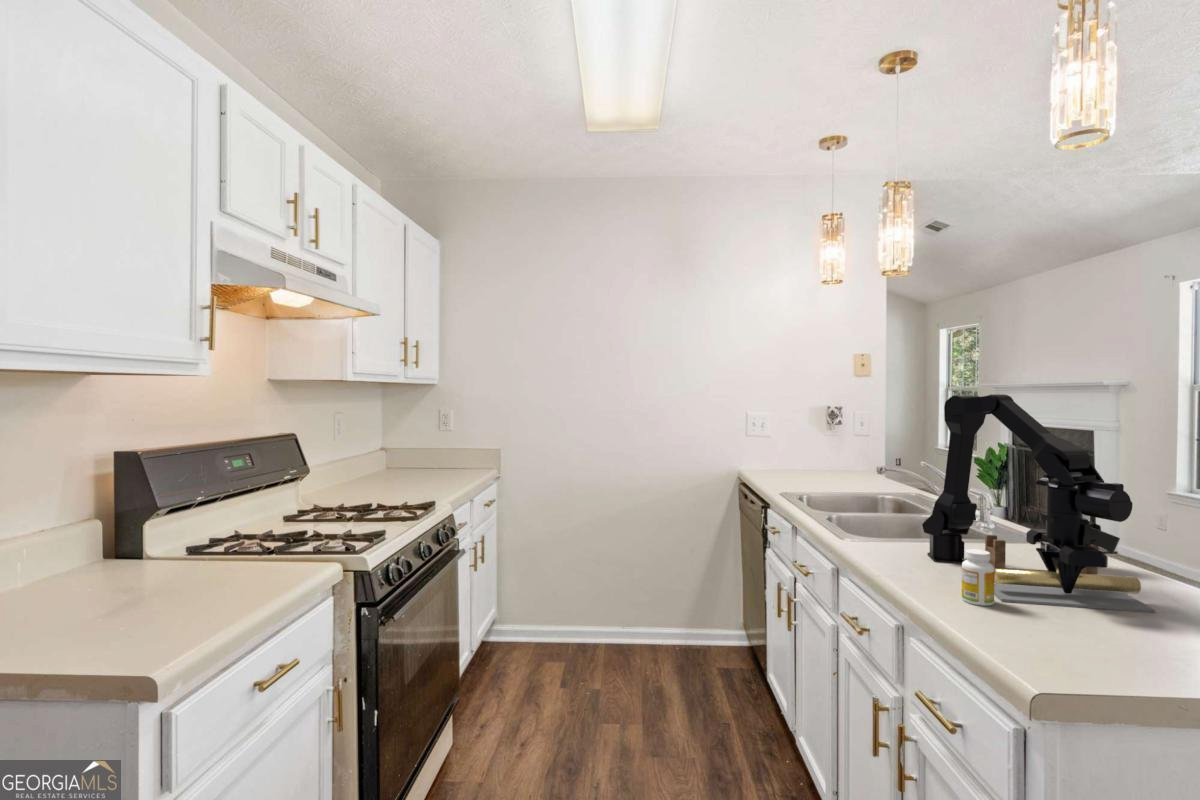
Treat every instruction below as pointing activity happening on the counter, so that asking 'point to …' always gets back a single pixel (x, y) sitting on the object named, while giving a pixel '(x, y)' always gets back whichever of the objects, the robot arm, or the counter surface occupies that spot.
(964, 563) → the supplement bottle
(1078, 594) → the slate mat
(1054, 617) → the counter surface
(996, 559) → the cradle rack
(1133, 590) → the brass rail
